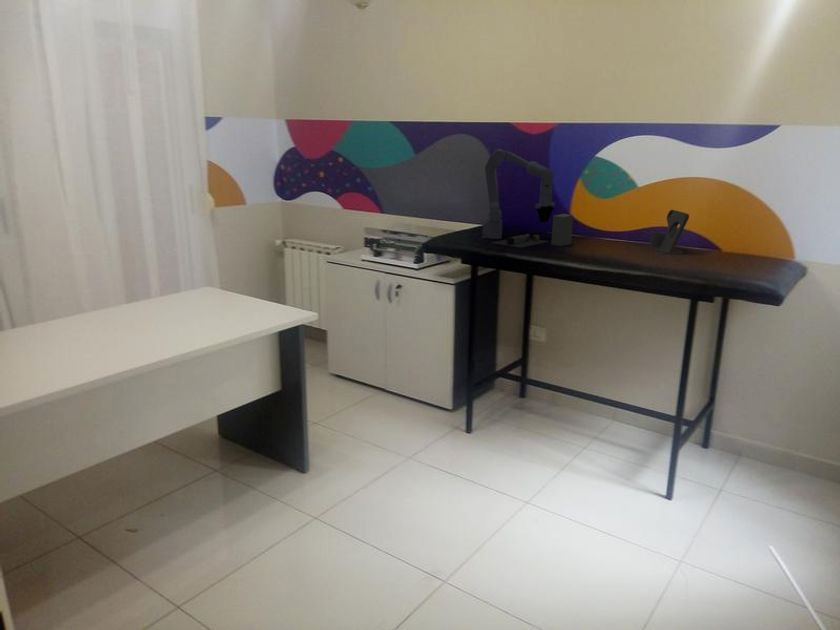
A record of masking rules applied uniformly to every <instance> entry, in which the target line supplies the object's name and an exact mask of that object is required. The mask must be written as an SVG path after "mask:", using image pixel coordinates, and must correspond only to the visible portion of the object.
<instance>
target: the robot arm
mask: <svg viewBox="0 0 840 630" xmlns="http://www.w3.org/2000/svg"><path fill="white" fill-rule="evenodd" d="M504 161H505V162H513V163H515V164H517V165H519V166H520V167H523V168H525V169H526V172H527V173H528V174H530V175H532V176H534V177H536V178H541V179H540V180H541V181H540V187H539V188H540V191H539V203H536V204H535V205H534V209H535V210H536V212H537V214H538V218H539V223H548V222H549V220H550V217H551V215H552V213H553V211H554V207H556V202H555V201H552V196H553V195H552V194H553V179H554V173H553V171H552V169H550V168H549V167H548V168H547V166H543V165H542V164H540V163H538V161H537V160H536V161H534V160H533V161H527V160H526V159H524V158H522V157H520V156H519V155H516V154H515V153H514V152H511V151H507V150H504V149H502V148H497V149H495V150H494V151H493V152H492V153H491V154H490V155H489V158H488V160H487V162H486V164H485V167H484V171H485V179H486V187H487V195H488V196H487V197H488V202H489V213H488V218H489V219H487V220H485V221H484V222H483V224H482V237H481V239H490V240H492V239H493V240H498V239H499V240H500V239H502V238H503V237H502V236H503V235H502V234H503V220H502V215H503V212H502V209H501V208H500V202H499V195H498V187H497V180H496V170H495V169H497V167H498V166H499V165H500V164H501V163H503V162H504Z"/></svg>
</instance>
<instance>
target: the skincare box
mask: <svg viewBox="0 0 840 630" xmlns="http://www.w3.org/2000/svg"><path fill="white" fill-rule="evenodd" d="M573 223H574V215H573V214H567V213H561V214H557V215H556V214H555V215H553V217H552V227H551V228H552V231H551V245H553V246H558V247H563V246H568V245H572V237H573V234H572V233H573Z"/></svg>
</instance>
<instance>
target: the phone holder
mask: <svg viewBox="0 0 840 630" xmlns="http://www.w3.org/2000/svg"><path fill="white" fill-rule="evenodd" d="M689 219H690V214H689V213H686V212H683V211H679V210H675V209H670V210H669V211H668V213H667V215H666V222H667V228H668V230H667V232H666V233H653V234H651V237H650V238H651V240H650V246H649V249H652V250H654V251H657V252H658V253H660V254H664V255H685V254H686V251H683V250H681V249H678V248H676V245H677V243H678V241H679V239H680V237H681V236H682V233H683V231H684V229H685V228H686V225H687V222H688V220H689ZM678 226H679V227H678Z"/></svg>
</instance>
